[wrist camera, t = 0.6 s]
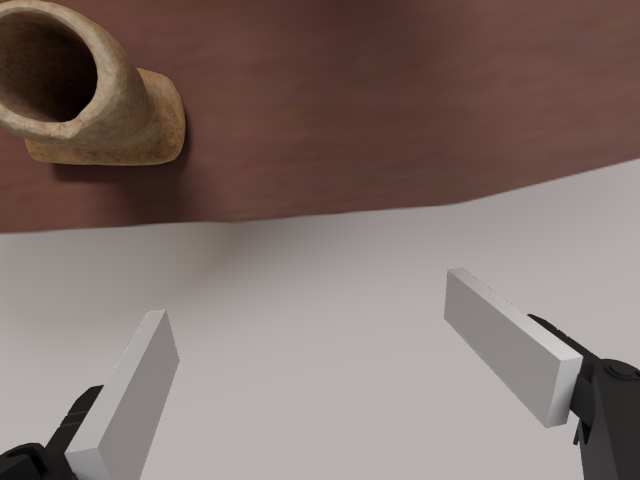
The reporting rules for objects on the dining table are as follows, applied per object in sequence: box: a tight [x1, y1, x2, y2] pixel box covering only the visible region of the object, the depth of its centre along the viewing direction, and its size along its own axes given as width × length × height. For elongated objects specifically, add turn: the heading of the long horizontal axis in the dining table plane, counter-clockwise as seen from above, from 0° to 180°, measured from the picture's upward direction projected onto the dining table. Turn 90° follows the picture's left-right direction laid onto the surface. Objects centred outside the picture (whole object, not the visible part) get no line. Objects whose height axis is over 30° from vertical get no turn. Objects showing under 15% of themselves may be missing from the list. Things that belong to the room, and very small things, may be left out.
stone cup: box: [0, 0, 186, 165], centre depth 29 cm, size 15×12×15 cm
